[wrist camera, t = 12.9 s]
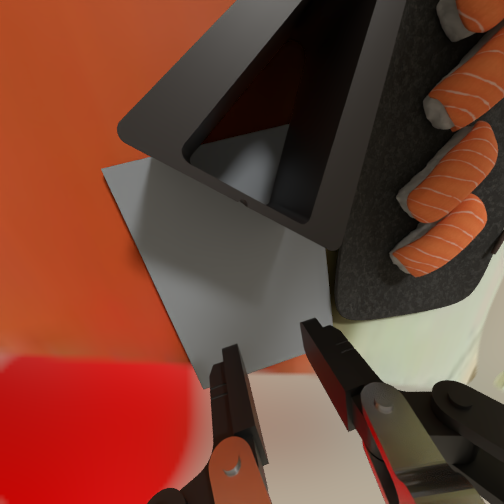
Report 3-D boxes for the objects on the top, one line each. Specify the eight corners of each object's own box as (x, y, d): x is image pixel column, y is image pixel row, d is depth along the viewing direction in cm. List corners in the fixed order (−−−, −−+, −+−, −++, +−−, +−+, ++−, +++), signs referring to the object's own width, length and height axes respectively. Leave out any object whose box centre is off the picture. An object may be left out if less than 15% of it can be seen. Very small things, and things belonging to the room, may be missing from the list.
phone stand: (111, 136, 7) (318, -417, 5) (151, 152, 13) (256, -105, 11) (336, 254, 10) (534, -66, 8) (288, 224, 16) (395, 34, 13)
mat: (309, 119, 14) (312, 118, 14) (331, 339, 22) (334, 343, 21) (104, 168, 13) (100, 169, 13) (203, 384, 21) (203, 389, 20)
